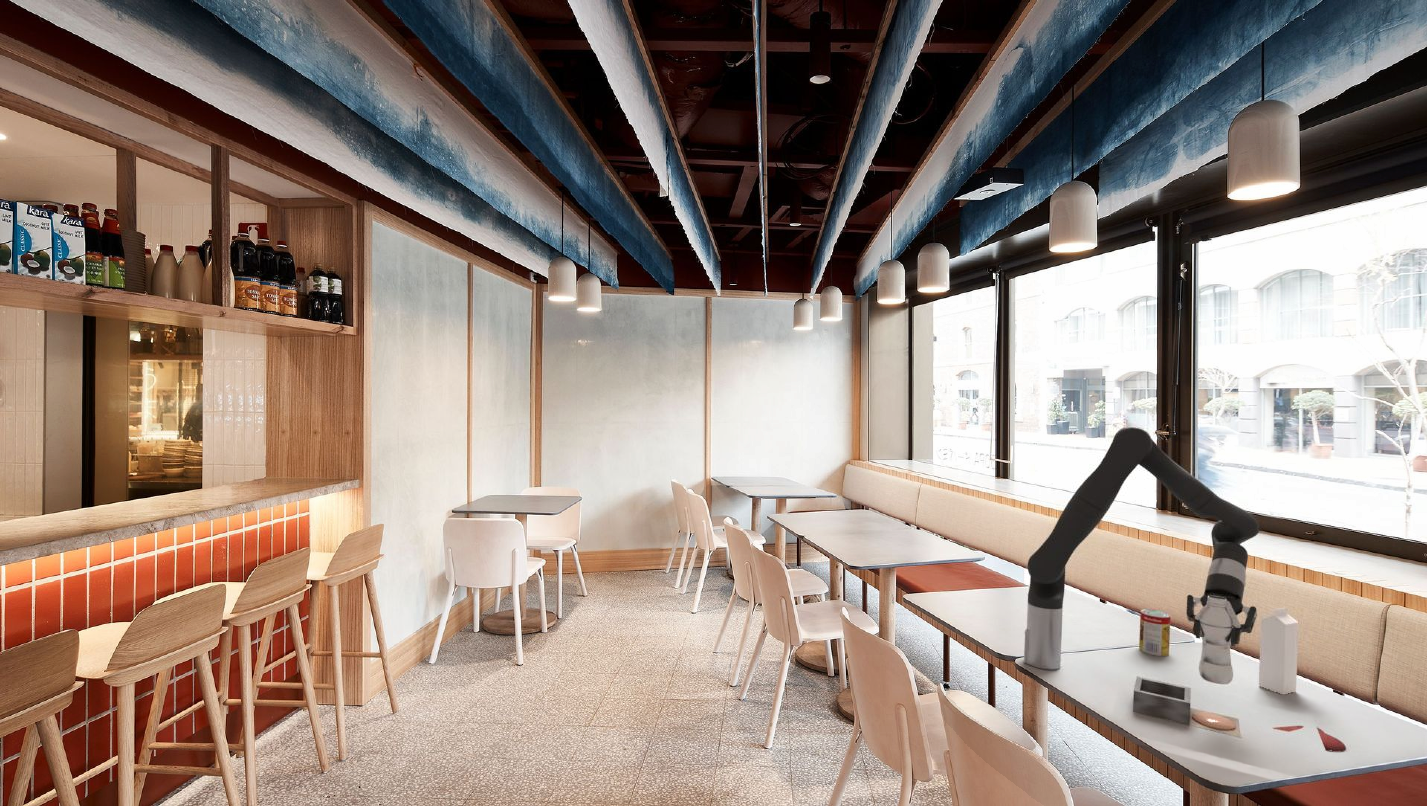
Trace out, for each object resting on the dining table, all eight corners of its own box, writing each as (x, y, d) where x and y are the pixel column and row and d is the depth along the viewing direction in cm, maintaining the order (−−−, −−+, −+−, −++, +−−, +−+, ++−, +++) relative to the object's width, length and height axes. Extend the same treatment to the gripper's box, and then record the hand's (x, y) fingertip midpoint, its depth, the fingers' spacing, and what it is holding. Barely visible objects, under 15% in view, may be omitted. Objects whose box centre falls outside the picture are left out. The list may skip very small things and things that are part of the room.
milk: (1296, 692, 190) (1300, 610, 190) (1282, 695, 188) (1286, 612, 188) (1270, 683, 196) (1274, 604, 196) (1257, 686, 194) (1261, 606, 193)
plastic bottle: (1238, 689, 163) (1240, 602, 163) (1205, 686, 164) (1207, 600, 164) (1224, 678, 169) (1226, 595, 169) (1193, 675, 170) (1195, 593, 170)
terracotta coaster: (1191, 723, 165) (1191, 721, 165) (1191, 710, 172) (1191, 709, 172) (1236, 733, 161) (1236, 731, 161) (1234, 720, 168) (1234, 718, 168)
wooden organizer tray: (1132, 717, 170) (1133, 691, 170) (1135, 701, 180) (1136, 676, 180) (1240, 744, 159) (1242, 715, 159) (1238, 725, 169) (1239, 697, 169)
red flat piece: (1282, 753, 156) (1283, 744, 156) (1235, 724, 170) (1235, 715, 170) (1360, 755, 157) (1360, 746, 157) (1306, 726, 171) (1306, 717, 171)
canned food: (1168, 650, 220) (1170, 612, 220) (1169, 658, 214) (1170, 618, 213) (1139, 645, 224) (1140, 607, 224) (1138, 652, 218) (1140, 613, 218)
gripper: (1189, 567, 177) (1176, 624, 168) (1261, 578, 167) (1251, 639, 158) (1192, 584, 181) (1180, 641, 172) (1263, 596, 170) (1254, 657, 162)
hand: (1214, 640), depth 165 cm, fingers closed on plastic bottle, 6 cm apart
